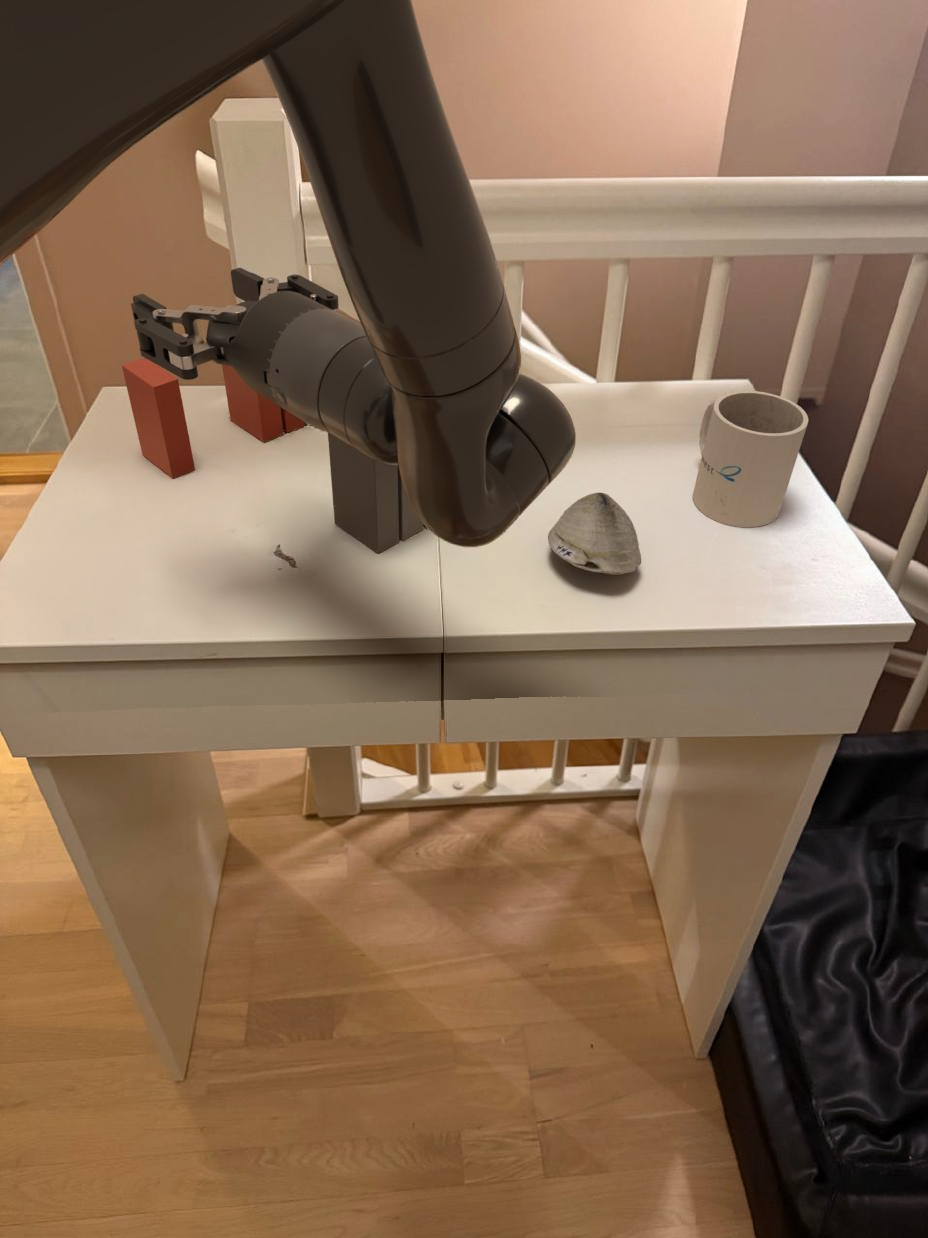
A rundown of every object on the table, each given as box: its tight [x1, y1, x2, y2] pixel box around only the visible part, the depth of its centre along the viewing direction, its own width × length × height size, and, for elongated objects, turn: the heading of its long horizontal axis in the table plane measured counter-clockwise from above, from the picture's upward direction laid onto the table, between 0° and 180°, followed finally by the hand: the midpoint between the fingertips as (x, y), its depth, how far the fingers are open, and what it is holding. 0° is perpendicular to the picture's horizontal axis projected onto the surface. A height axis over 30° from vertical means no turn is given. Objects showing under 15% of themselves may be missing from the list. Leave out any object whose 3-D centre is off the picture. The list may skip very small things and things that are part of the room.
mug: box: [692, 390, 809, 528], centre depth 88 cm, size 12×9×10 cm
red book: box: [121, 357, 196, 479], centre depth 89 cm, size 3×6×10 cm, turn 44°
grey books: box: [327, 432, 428, 554], centre depth 82 cm, size 9×6×12 cm
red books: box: [221, 364, 307, 443], centre depth 96 cm, size 9×6×10 cm
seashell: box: [547, 492, 642, 575], centre depth 81 cm, size 12×8×5 cm
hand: (188, 293), depth 70 cm, fingers open, 8 cm apart
